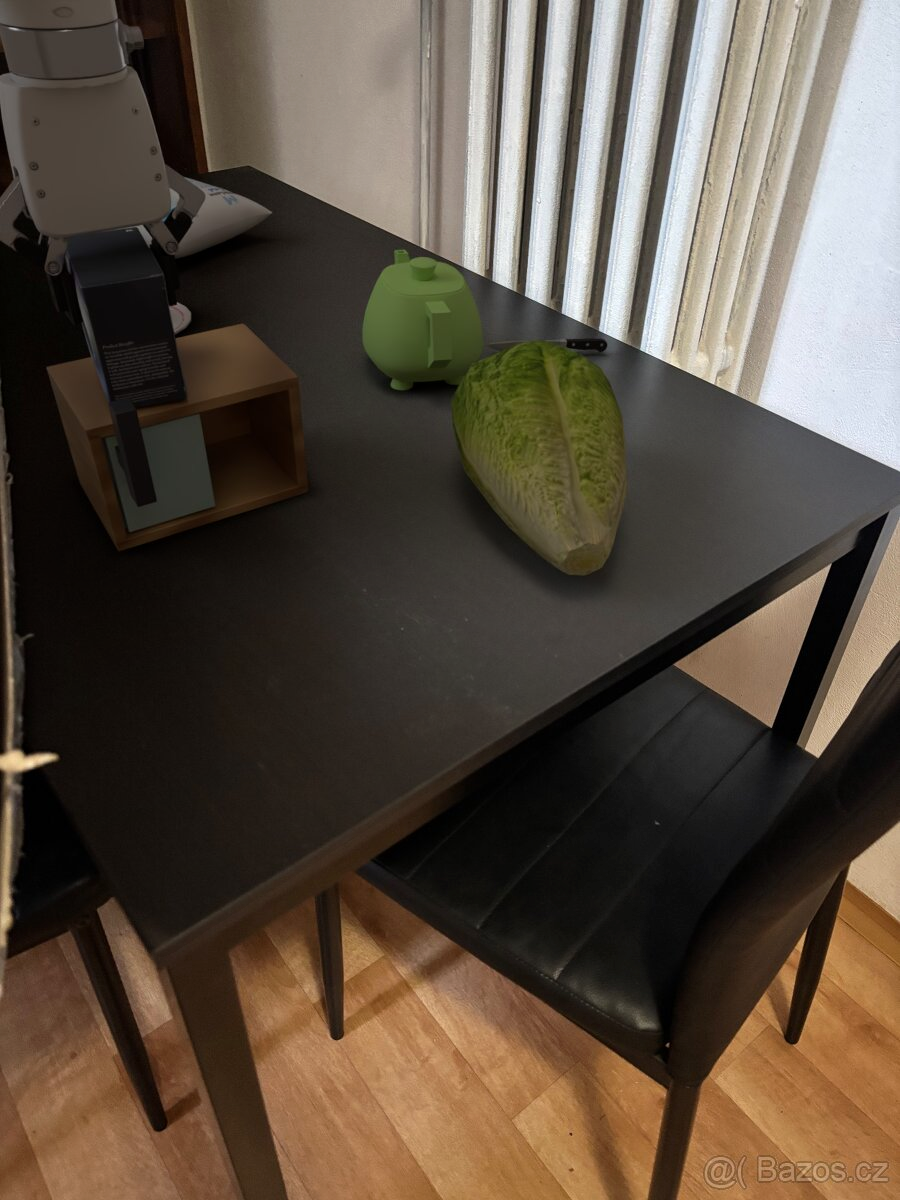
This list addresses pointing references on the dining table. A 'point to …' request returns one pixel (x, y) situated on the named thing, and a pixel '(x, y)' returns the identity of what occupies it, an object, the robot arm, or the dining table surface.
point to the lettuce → (546, 450)
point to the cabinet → (229, 424)
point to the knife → (569, 343)
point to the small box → (126, 316)
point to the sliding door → (158, 467)
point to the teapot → (422, 323)
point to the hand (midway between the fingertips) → (120, 307)
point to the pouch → (214, 219)
